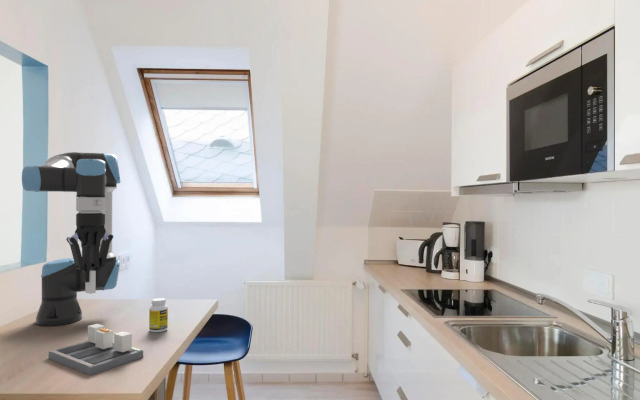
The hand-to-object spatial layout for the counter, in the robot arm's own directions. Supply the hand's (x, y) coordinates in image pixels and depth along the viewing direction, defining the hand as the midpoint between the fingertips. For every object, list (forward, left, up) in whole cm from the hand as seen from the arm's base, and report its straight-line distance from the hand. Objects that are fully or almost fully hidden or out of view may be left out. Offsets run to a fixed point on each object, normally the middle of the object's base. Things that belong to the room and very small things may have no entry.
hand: (90, 292), depth 126 cm
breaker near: (+7, +6, -17) cm, 19 cm away
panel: (0, +2, -20) cm, 20 cm away
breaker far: (-7, +6, -17) cm, 19 cm away
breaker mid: (0, +4, -17) cm, 17 cm away
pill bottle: (-7, +29, -20) cm, 36 cm away
